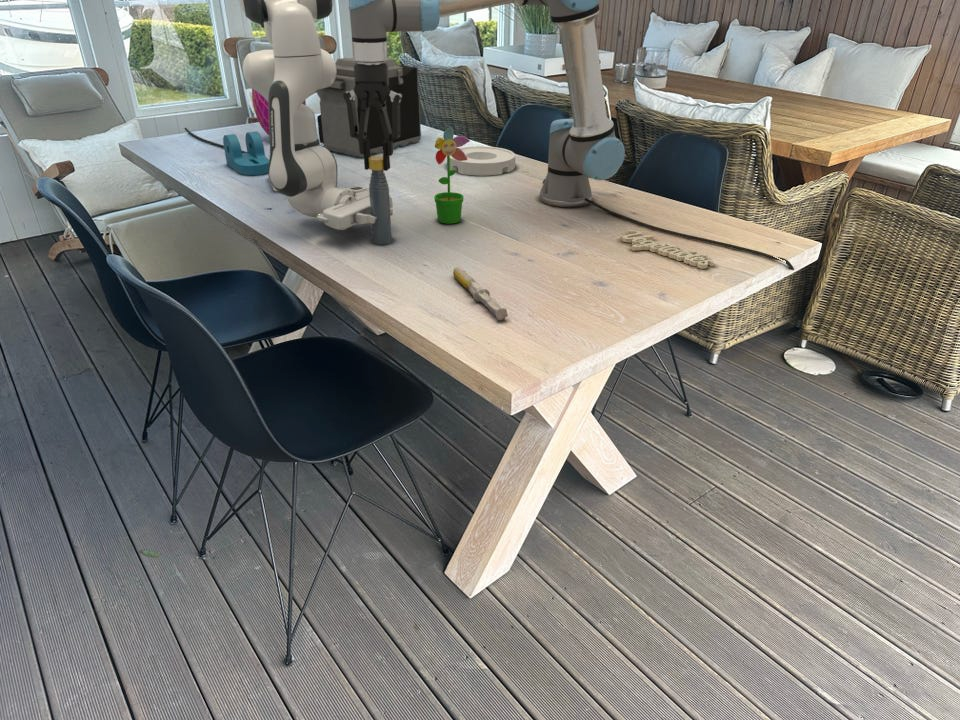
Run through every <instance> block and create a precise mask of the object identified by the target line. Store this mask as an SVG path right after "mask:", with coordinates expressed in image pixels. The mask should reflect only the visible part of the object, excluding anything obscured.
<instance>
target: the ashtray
mask: <svg viewBox="0 0 960 720" xmlns="http://www.w3.org/2000/svg"><path fill="white" fill-rule="evenodd" d="M458 148H459V149H460V150H462V151H463V152H464V154H465V155H466V157H467V160H464V161H458V160H456V159H454V158H453V157H452V156H450V171H451V170H456V172H457V173H458V174H460V175H467V176H478V177H479V176H480V177H482V176H483V177H485V176H498V175H502V174H503V173H510V172H512V171H514V170H515V168H516V154H515V152H514V151H512V150H510V149H506V148H503V147H497V146H486V145H483V146H481V145H478V146H477V145H475V146H474V145H473V146H464V147H463V146H462V147H458Z"/></svg>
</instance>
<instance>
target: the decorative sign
mask: <svg viewBox="0 0 960 720" xmlns="http://www.w3.org/2000/svg"><path fill="white" fill-rule="evenodd" d="M654 237H655V236H654V235H653V234H652V235H651V234H648V235H647V234H646V235H642V232H641V231H639V230H633V229H629V230H628V232H627V234H625V235H622V238H621V241H622V242H623V243H631V245H632V246H631V251H633V252H634V251H650V252H652V253H657V254H658V255H661V256H663V257H668V258H669V259H673V260H676V261H678V262H683V263H684V264H688V265H689V266H692V267H697V268H698V269H701V270H706V269H708V266H710V267H713V266H714V264H715V261H714V260H712V259H707V258H708V254H707V253H698V251H697V250H694V249H693V250H684V251H683V250H681V247H679V246H678V245H676V244H673V245H672V244H670V243H668V242H667V243H665V244H664V243H659V242H657V241H654Z"/></svg>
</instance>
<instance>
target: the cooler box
mask: <svg viewBox="0 0 960 720" xmlns="http://www.w3.org/2000/svg"><path fill="white" fill-rule="evenodd" d="M355 63H356V62H355V61H354V60H353V57H350V58H349V57H343V58H342V57H341V58H337V59H336V60H335V64H336V69H337V73H336V78H335V81H334V83H333V84H332V85H331V86H330V87H327V88H323V89H319V90H316V91H315V93H316V94H317V96H318V98H319V110H320V111H319V112H320V114H319V115H317V116H316V119H317V128H318V130H317V131H318V139H319V143H320V144H323V147H325V148H327V149H328V150H329V151H330V152H335V153H340V154H344V155H348V156H353V157H357V158H362V159H364V154H360V149H359V140H358V139H357V138H353V137H351V136H350V128H349V120H348V111H347V104H346V101H345V99H344V97H343V94H344V93H345V92H347V91H352V90H354V86H355V76H354V65H355ZM385 63H387V65H388V76H389V86H390V88H391V91H393V92H395V93H397V94H399V93H401V94H402V96H403V97H402V100H401V103H400V137H399V138H398V139H396V140H393V150H395V149H396V148H397V147H405V146H407V145H408V144H416V143H418V142H419V141H421V137H422V128H421V97H420V92H419V91H420V89H419V68H418V67H417V66H408V65H400V64H396V62H395V60H394V59H393V58H387V61H385ZM355 97H356V98H355V105H356V114H357V123H358V132H359V124H360V115H361V101H360V100H359V98H358V97H357V96H356V95H355ZM385 103H386V107H387V109H386V110H387V114H388V118H389V122H390V126H391V131H392V103H393V102H391V97H390V96H389V97H388V99H387V100H386V102H385ZM366 136H367V137H366V139H369V140H370V154H375V155H377V154H381V153H383V147H382V142H383V141H385V137H384V133H383V129H382V125H381V121H380V117H379V113H378V111H377V108H376V107H373V106H371V107H370V110H369V117H368V125H367V134H366Z"/></svg>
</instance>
